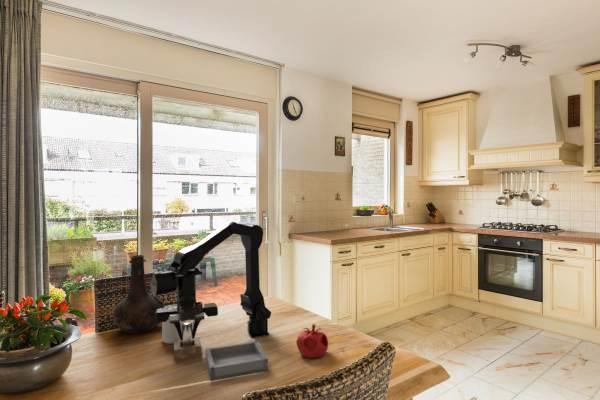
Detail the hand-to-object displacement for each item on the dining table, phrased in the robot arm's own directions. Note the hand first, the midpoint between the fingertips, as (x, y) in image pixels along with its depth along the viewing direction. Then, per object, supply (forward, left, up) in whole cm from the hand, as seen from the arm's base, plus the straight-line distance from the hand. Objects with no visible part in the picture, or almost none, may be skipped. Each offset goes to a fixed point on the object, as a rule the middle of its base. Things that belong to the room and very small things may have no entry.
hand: (187, 339), depth 117 cm
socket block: (0, 0, -5) cm, 5 cm away
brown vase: (+16, -30, -5) cm, 34 cm away
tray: (-13, +13, -5) cm, 19 cm away
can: (+4, -13, -5) cm, 14 cm away
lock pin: (0, 0, -4) cm, 4 cm away
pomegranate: (-37, +14, -5) cm, 40 cm away
